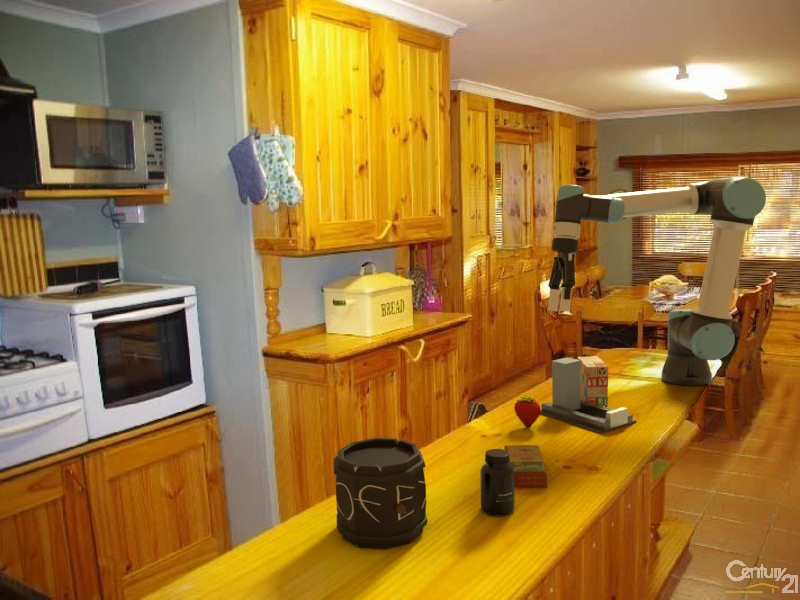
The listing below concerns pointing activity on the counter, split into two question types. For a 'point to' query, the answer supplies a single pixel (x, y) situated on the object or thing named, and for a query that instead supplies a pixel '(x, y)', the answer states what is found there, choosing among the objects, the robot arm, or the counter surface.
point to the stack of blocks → (593, 380)
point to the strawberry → (527, 410)
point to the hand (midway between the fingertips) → (558, 311)
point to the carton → (527, 466)
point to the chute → (590, 416)
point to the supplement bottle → (497, 483)
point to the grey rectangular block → (566, 383)
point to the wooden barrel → (380, 493)
